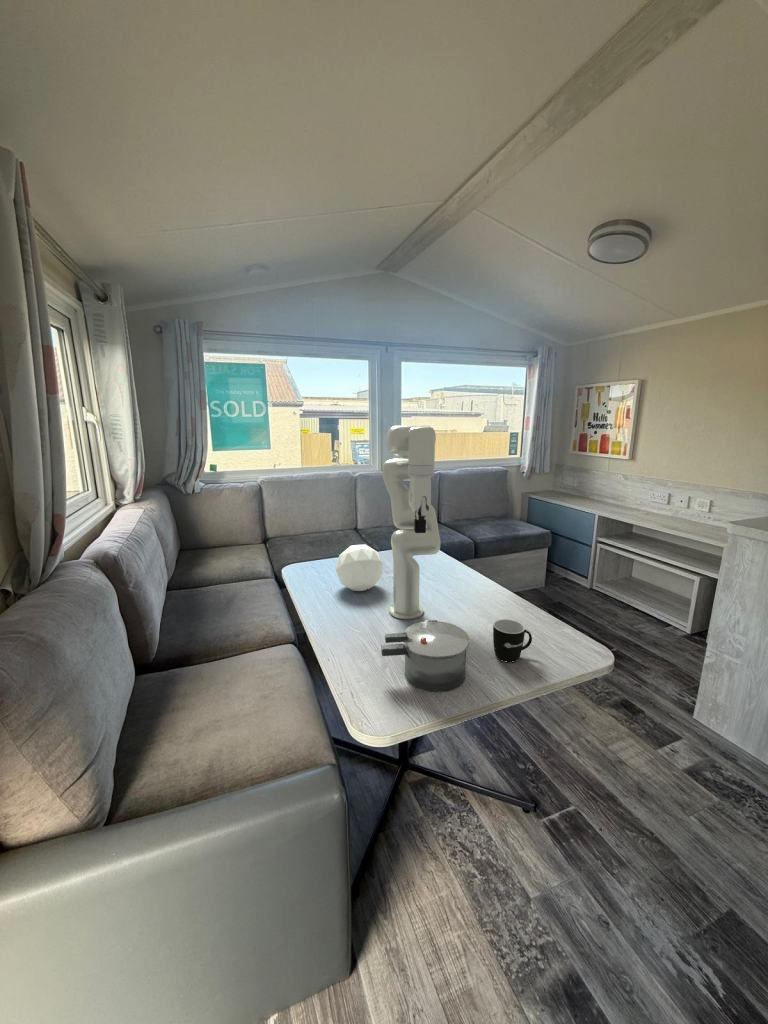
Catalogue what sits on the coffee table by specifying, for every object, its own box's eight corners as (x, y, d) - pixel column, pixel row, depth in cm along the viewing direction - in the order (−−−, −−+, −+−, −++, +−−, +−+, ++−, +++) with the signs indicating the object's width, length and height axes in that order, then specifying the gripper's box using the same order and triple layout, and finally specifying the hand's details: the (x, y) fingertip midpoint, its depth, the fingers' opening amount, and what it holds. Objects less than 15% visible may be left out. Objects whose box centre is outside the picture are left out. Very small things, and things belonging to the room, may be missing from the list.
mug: (499, 666, 122) (501, 634, 120) (486, 650, 131) (488, 620, 128) (537, 662, 124) (540, 631, 122) (523, 647, 133) (525, 617, 130)
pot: (378, 659, 126) (378, 628, 123) (456, 655, 128) (457, 624, 126) (384, 696, 109) (384, 661, 107) (473, 690, 112) (475, 655, 109)
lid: (381, 626, 125) (381, 618, 124) (457, 622, 127) (458, 614, 127) (389, 661, 107) (389, 652, 106) (477, 656, 109) (478, 647, 108)
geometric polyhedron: (355, 608, 175) (331, 580, 163) (346, 576, 191) (324, 548, 179) (395, 586, 174) (374, 556, 162) (383, 556, 190) (363, 526, 178)
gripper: (404, 467, 128) (403, 526, 132) (412, 474, 114) (411, 539, 118) (428, 467, 129) (427, 525, 133) (440, 473, 114) (438, 539, 118)
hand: (420, 532), depth 125 cm, fingers closed
